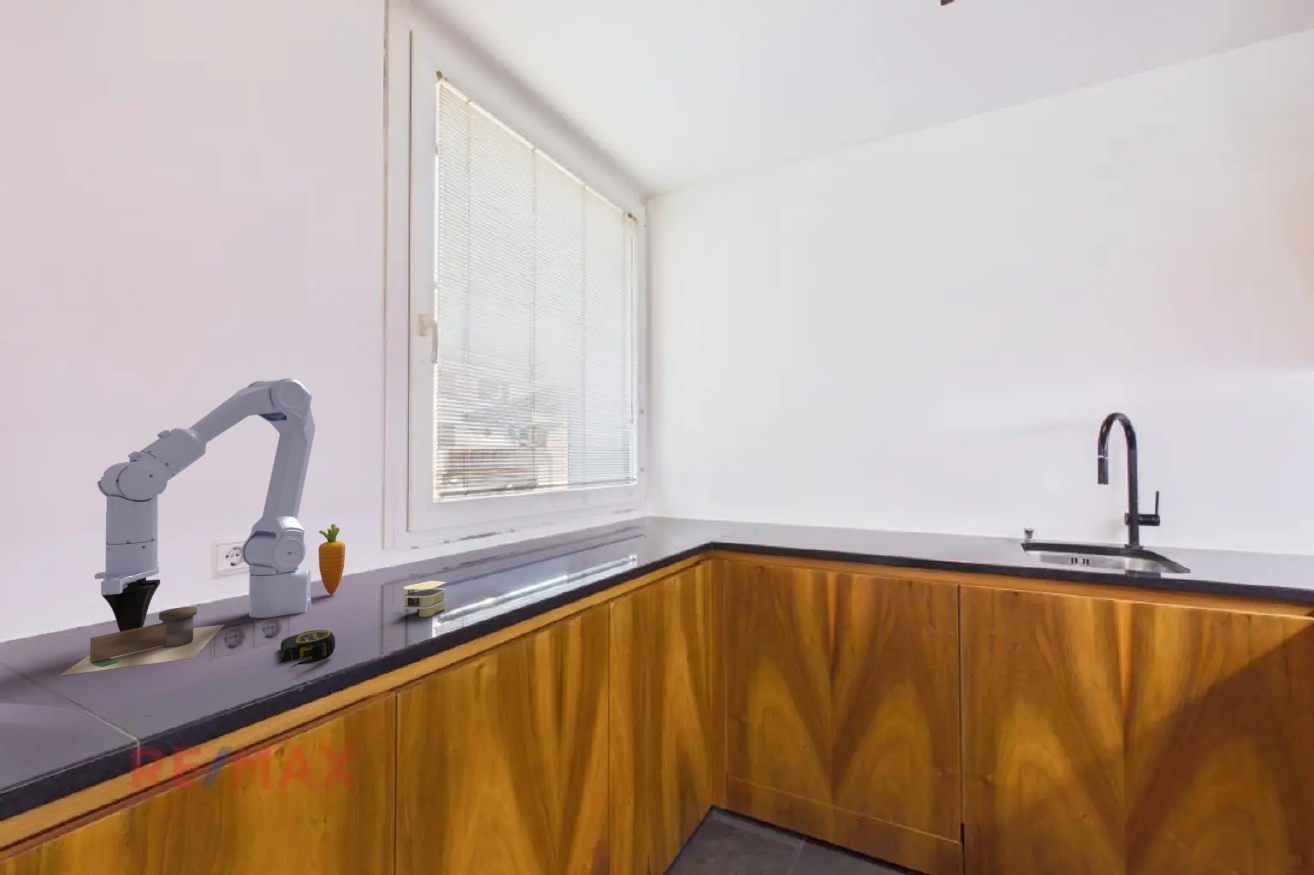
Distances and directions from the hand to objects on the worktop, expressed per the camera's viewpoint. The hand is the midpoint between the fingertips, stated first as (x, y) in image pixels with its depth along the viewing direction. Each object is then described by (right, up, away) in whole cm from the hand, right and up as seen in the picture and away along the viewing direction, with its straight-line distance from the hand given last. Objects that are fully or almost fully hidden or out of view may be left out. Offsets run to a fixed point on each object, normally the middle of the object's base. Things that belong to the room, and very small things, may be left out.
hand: (131, 632), depth 84 cm
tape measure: (+27, -4, -2) cm, 28 cm away
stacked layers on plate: (+35, -5, +23) cm, 42 cm away
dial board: (+3, -4, 0) cm, 5 cm away
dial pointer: (+4, -2, -2) cm, 5 cm away
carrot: (+9, -5, +36) cm, 38 cm away
